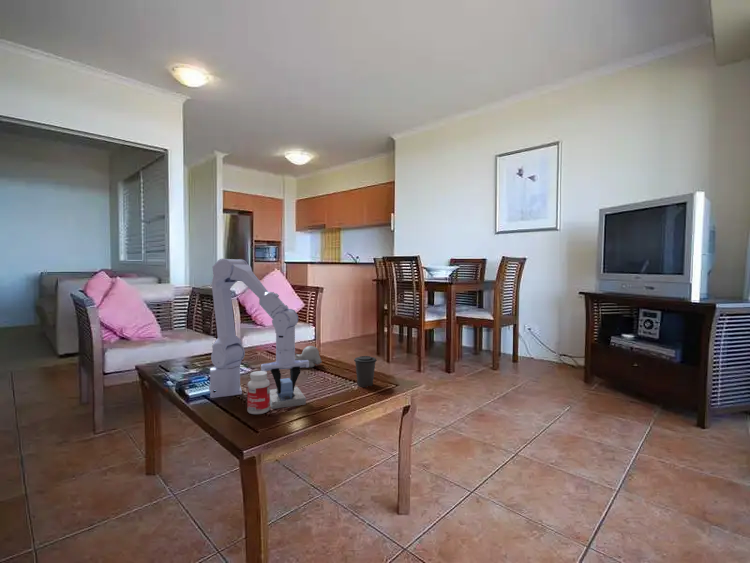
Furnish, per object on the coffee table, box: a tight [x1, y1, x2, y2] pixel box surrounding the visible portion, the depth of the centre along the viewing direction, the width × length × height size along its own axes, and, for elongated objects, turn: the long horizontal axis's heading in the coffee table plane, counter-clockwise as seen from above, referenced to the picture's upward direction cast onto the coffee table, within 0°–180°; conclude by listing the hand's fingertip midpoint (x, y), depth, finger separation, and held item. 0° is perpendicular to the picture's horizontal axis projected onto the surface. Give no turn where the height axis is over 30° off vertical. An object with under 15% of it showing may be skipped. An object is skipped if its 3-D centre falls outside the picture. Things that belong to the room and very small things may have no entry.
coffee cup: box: [353, 355, 377, 388], centre depth 134 cm, size 8×8×10 cm
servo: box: [279, 377, 293, 400], centre depth 118 cm, size 8×3×5 cm, turn 24°
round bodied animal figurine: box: [295, 345, 323, 369], centre depth 158 cm, size 7×12×8 cm, turn 99°
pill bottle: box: [246, 370, 271, 415], centre depth 109 cm, size 6×6×11 cm
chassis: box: [270, 385, 307, 410], centre depth 118 cm, size 10×12×2 cm
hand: (285, 391), depth 118 cm, fingers closed on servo, 3 cm apart
